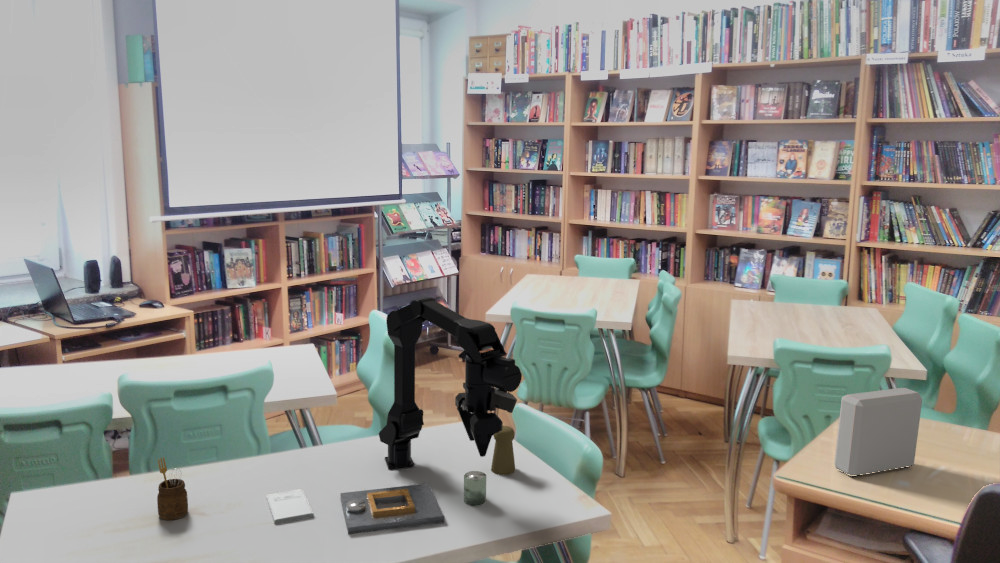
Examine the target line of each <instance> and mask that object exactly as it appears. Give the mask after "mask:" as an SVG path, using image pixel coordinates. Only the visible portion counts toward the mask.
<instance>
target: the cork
mask: <svg viewBox="0 0 1000 563" xmlns="http://www.w3.org/2000/svg"><path fill="white" fill-rule="evenodd" d="M515 433H516V432H515V429H514V428H513V427H511V426H509V425H503V426H502V431H499V432H498V433H495V434H494V435H493V436H492V437H493V439H494V440H495V443H494V449H493V454H492V462H491V468H490V471H491V472H492V473H493V474H495V475H498V474H499V476H508V475H512V474H514V473H515V472H516V463H515V462H516V461H515V453H514V446H513V445H514V444H513V441H514V439H515Z"/></svg>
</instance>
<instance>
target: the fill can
mask: <svg viewBox="0 0 1000 563" xmlns="http://www.w3.org/2000/svg"><path fill="white" fill-rule="evenodd" d="M463 502H464V504H466V505H467V506H471V507H479V506H483V505H484V504H486V503H487V474H486V473H485V472H483V471H481V470H480V471H478V470H471V471H467V472H465V474H463Z"/></svg>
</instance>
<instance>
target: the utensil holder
mask: <svg viewBox="0 0 1000 563" xmlns="http://www.w3.org/2000/svg"><path fill="white" fill-rule="evenodd" d="M157 463H158V469H159V473H160V474H162V475H163V479H164V480H163V481H162V482H160V483H159V484H158V493H157V498H156V502H157V504H156V505H157V512H158V517H159V518H160V519H161V520H165V521H175V520H178V519H181V518H183V517H184V516H186V515H187V513H188V512H189V511H188V510H189V501H188V500H189V499H188V498H189V497H188V491H187V489H186V483H185V481H184V480H183V479H182V470H180V468H179V467H178V468H177V467H176V468H173V469H171V470H170V475H173V472H174V471H175V472H174V473H175V476H177V475H178V474H177V472H178V471H177V470H179V471H180V472H179V474H180V478H171V476H169V479H167V476H166V473H167V471H168V468H167V464H166V459H165V457H164V456H162V457H160V458H157Z"/></svg>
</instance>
